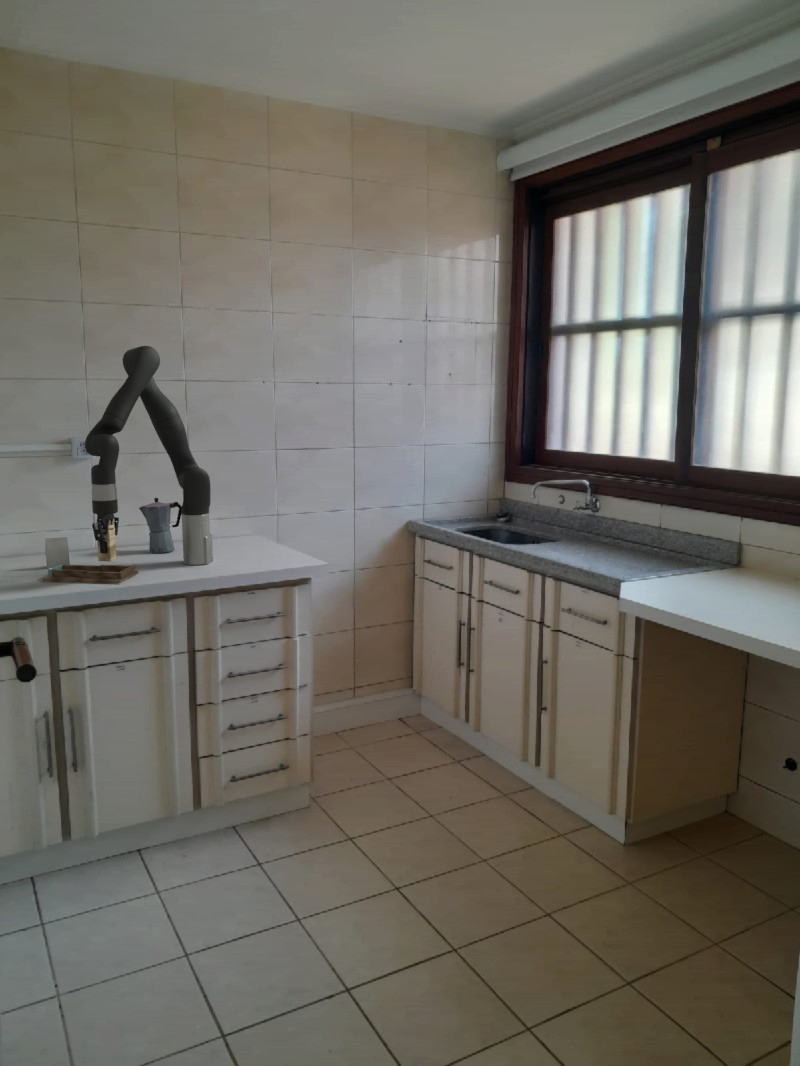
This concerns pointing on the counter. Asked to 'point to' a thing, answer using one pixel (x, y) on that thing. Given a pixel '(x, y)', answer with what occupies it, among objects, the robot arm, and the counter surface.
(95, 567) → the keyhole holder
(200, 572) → the counter surface
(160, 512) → the moka pot
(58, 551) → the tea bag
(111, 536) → the maple peg
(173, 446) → the robot arm
